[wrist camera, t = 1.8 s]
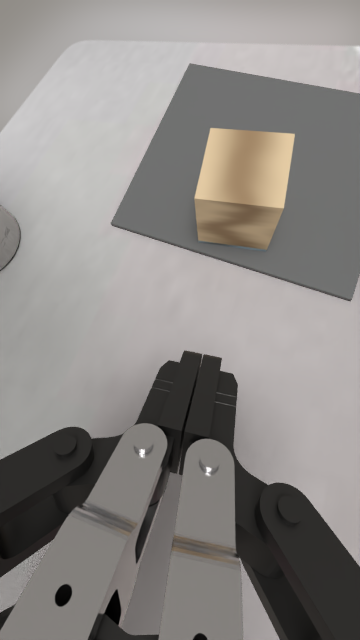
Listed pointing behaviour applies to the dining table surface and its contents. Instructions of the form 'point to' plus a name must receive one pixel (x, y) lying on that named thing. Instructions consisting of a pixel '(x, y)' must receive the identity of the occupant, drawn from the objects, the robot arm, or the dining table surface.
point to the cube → (242, 187)
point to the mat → (303, 183)
